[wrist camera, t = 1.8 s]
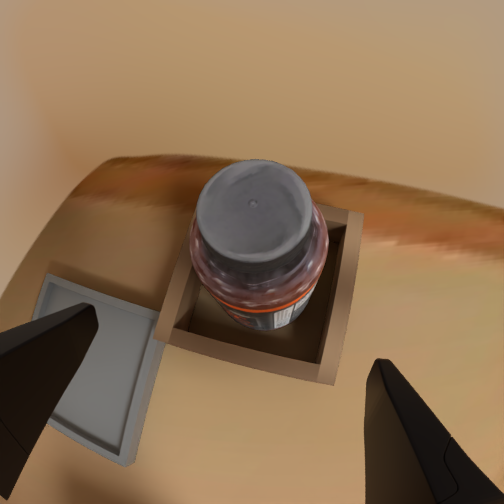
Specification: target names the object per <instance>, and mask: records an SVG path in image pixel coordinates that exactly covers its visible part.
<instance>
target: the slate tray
mask: <svg viewBox="0 0 504 504" xmlns="http://www.w3.org/2000/svg"><path fill="white" fill-rule="evenodd" d="M82 302H86V303H89V304H92V305H94V307H95V310H96V314H97V318H98V323H99V328H98V332H97V334H96V335H95V337H94V339H93V341H92V343H91V345H90V347H89V350H88V352H87V354H86V356H85V358H84V360H83V362H82V364H81V365H80V367H79V369H78V371H77V372H76V374H75V376H74V377H73V379H72V380H71V382H70V384H69V385H68V387H67V389H66V390H65V392H64V394H63V396H62V397H61V399H60V401H59V402H58V404H57V406H56V408H55V409H54V411H53V413H52V415H51V416H50V418H49V420H48V422H47V424H49V425H50V426H52V427H53V428H55V429H57V430H58V431H60V432H61V433H63V434H64V435H66V436H68V437H69V438H71V439H73V440H74V441H76V442H78V443H80V444H81V445H83V446H85V447H87V448H88V449H90V450H92V451H94V452H96V453H98V454H99V455H101V456H103V457H105V458H107V459H109V460H111V461H113V462H115V463H117V464H119V465H121V466H123V467H127V466H129V465H131V464H133V463H134V462H135V458H136V454H137V450H138V445H139V441H140V437H141V433H142V429H143V425H144V421H145V417H146V413H147V409H148V405H149V401H150V397H151V394H152V390H153V386H154V382H155V379H156V375H157V371H158V368H159V364H160V361H161V357H162V354H163V350H164V347H165V343H164V342H161V341H158V340H155V339H153V335H154V332H155V329H156V325H157V322H158V319H159V315H160V312H158V311H155V310H151V309H148V308H145V307H142V306H139V305H136V304H133V303H130V302H127V301H124V300H121V299H118V298H115V297H112V296H109V295H106V294H103V293H100V292H98V291H95V290H92V289H89V288H86V287H84V286H81V285H78V284H76V283H73V282H70V281H68V280H65V279H62V278H60V277H57V276H55V275H52V274H49V273H47V274H46V277H45V280H44V283H43V285H42V288H41V291H40V294H39V297H38V301H37V304H36V307H35V310H34V314H33V317H32V320H31V321H33V320H36V319H39V318H41V317H44V316H47V315H49V314H52V313H55V312H57V311H60V310H63V309H66V308H68V307H71V306H74V305H76V304H79V303H82Z"/></svg>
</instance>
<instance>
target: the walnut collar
mask: <svg viewBox="0 0 504 504" xmlns="http://www.w3.org/2000/svg"><path fill="white" fill-rule="evenodd" d="M205 184H206V183H205ZM204 186H205V185H204ZM315 204H316V205H317V206H318V208H319V209H320V211H321V213H322V215H323V217H324V220H325V222H326V226H327V230H328V240H329V241H331V242H336V243H339V246H338V252H337V258H336V264H335V270H334V275H333V281H332V286H331V291H330V296H329V301H328V306H327V311H326V316H325V321H324V326H323V330H322V335H321V339H320V344H319V348H318V352H317V357H316V361H315V364H314V363H309V362H304V361H300V360H295V359H291V358H286V357H282V356H277V355H273V354H269V353H265V352H260V351H256V350H252V349H248V348H244V347H240V346H237V345H233V344H229V343H225V342H222V341H218V340H214V339H211V338H207V337H204V336H200V335H197V334H193V333H190V332H187V331H188V328H189V324H190V321H191V318H192V314H193V311H194V308H195V304H196V301H197V298H198V294H199V291H200V288H201V284H202V282H201V281H200V279H199V278H198V276H197V274H196V272H195V269H194V267H193V264H192V260H191V257H190V249H189V247H190V246H189V239H190V231H191V228H192V224H193V221H194V219H195V217H196V209H195V212H194V214H193V217H192V220H191V223H190V225H189V228H188V231H187V234H186V237H185V239H184V242H183V245H182V248H181V251H180V254H179V257H178V260H177V263H176V266H175V269H174V272H173V275H172V278H171V281H170V284H169V287H168V290H167V293H166V296H165V299H164V302H163V306H162V309H161V312H160V315H159V319H158V322H157V325H156V329H155V332H154V335H153V339H155V340H158V341H161V342H164V343H167V344H170V345H173V346H176V347H179V348H183V349H186V350H189V351H192V352H196V353H199V354H202V355H206V356H209V357H213V358H216V359H220V360H223V361H227V362H231V363H234V364H238V365H242V366H246V367H250V368H254V369H258V370H262V371H266V372H270V373H274V374H279V375H283V376H288V377H292V378H297V379H302V380H306V381H311V382H316V383H322V384H327V385H332V386H334V383H335V379H336V375H337V371H338V367H339V362H340V358H341V353H342V349H343V344H344V339H345V334H346V329H347V324H348V319H349V314H350V308H351V303H352V297H353V291H354V285H355V279H356V272H357V266H358V259H359V252H360V244H361V237H362V228H363V220H364V214H363V213H358V212H354V211H349V210H345V209H340V208H336V207H331V206H326V205H322V204H317V203H315ZM196 208H197V206H196Z"/></svg>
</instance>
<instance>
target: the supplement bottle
mask: <svg viewBox="0 0 504 504" xmlns="http://www.w3.org/2000/svg"><path fill="white" fill-rule="evenodd" d="M328 245H329V240H328V230H327V226H326V222H325V220H324V217H323V215H322V213H321V211H320V209H319V208H318V206H317V205H316V204H315V202H314V201H313V200H312V199H311V196H310V193H309V190H308V188H307V186H306V185H305V183H304V182H303V181H302V179H301V178H300V177H299V176H298V175H297V174H296V173H295V172H294V171H293V170H291V169H289V168H287V167H286V166H284V165H282V164H279V163H277V162H274V161H268V160H259V159H251V160H244V161H240V162H236V163H233V164H231V165H229V166H227V167H225V168H223V169H221V170H220V171H219V172H217V173H216V174H215V175H214V176H213V177H212V178H211V179H209V181H208V182H207V183H206V184H205V186H204V188H203V190H202V191H201V193H200V195H199V199H198V202H197V208H196V217H195V219H194V221H193V224H192V228H191V231H190V239H189V246H190V247H189V249H190V257H191V260H192V264H193V267H194V269H195V272H196V274H197V276H198V278H199V279H200V281H201V282H202V284H203V285H204V286H205V288H206V289H207V290H208V291H209V292H210V294H211V295H212V296H213V297H214V298H215V300H216V301H217V302H218V303H219V304H220V305H221V306H222V307H223V309H224V310H225V311H226V312H227V313H228V315H229V316H230V317H231V318H233V319H234V320H235V321H236V322H238V323H240V324H241V325H243V326H246V327H248V328H251V329H254V330H261V331H269V330H275V329H279V328H282V327H284V326H286V325H288V324H290V323H291V322H293V321H294V320H295V319H296V318H297V317H298V316H299V315H300V314H301V313H302V311H303V310H304V308H305V307H306V305H307V303H308V301H309V299H310V296H311V294H312V292H313V290H314V288H315V285H316V283H317V281H318V279H319V277H320V274H321V272H322V270H323V267H324V265H325V262H326V258H327V253H328Z"/></svg>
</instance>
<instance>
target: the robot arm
mask: <svg viewBox="0 0 504 504" xmlns="http://www.w3.org/2000/svg"><path fill="white" fill-rule="evenodd" d="M98 328H99V323H98V318H97V314H96V310H95V307H94V305H92V304H89V303H86V302H82V303H79V304H76V305H74V306H71V307H68V308H66V309H63V310H60V311H57V312H55V313H52V314H49V315H47V316H44V317H41V318H39V319H36V320H33V321H31V322H28V323H25V324H23V325H20V326H18V327H15V328H12V329H10V330H7V331H4V332H2V333H0V495H1V496H2V497H3V498H4V499H6V500H8V498H9V497H10V495H11V492H12V490H13V488H14V486H15V484H16V482H17V480H18V478H19V476H20V473H21V471H22V469H23V467H24V465H25V463H26V461H27V459H28V458H29V455H30V453H31V451H32V449H33V448H34V446H35V444H36V442H37V440H38V438H39V436H40V434H41V433H42V431H43V429H44V427H45V425H46V424H47V422H48V420H49V418H50V416H51V415H52V413H53V411H54V409H55V408H56V406H57V404H58V402H59V401H60V399H61V397H62V396H63V394H64V392H65V390H66V389H67V387H68V385H69V384H70V382H71V380H72V379H73V377H74V376H75V374H76V372H77V371H78V369H79V367H80V365H81V364H82V362H83V360H84V358H85V356H86V354H87V352H88V350H89V347H90V345H91V343H92V341H93V339H94V337H95V335H96V334H97V332H98ZM364 444H365V504H504V493H502V492H501V491H500V490H499V489H498V488H497V487H496V485H495V484H494V483H493V482H492V481H491V480H490V479H489V478H488V477H487V476H486V475H485V474H484V473H483V472H482V471H481V470H480V469H479V468H478V467H477V465H476V464H475V463H474V462H473V461H472V460H471V459H470V458H469V457H468V456H467V454H466V453H465V452H464V451H463V449H462V448H461V447H460V446H459V445H458V443H457V442H456V441H455V439H454V438H453V437H451V434H450V433H449V432H448V431H447V429H446V428H445V427H444V426H443V424H442V423H441V422H440V421H439V419H438V418H437V417H436V416H435V414H434V413H433V412H432V411H431V409H430V408H429V407H428V406H427V404H426V403H425V402H424V401H423V399H422V398H421V397H420V396H419V394H418V393H417V392H416V391H415V390H414V388H413V387H412V386H411V385H410V383H409V382H408V381H407V380H406V379H405V377H404V376H403V375H402V374H401V373H400V371H399V370H398V369H397V368H396V367H395V365H394V364H393V363H392V362H391V361H390V360H389V359H380V358H378V359H376V360H375V362H374V364H373V366H372V368H371V371H370V373H369V375H368V378H367V382H366V400H365V417H364Z"/></svg>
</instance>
